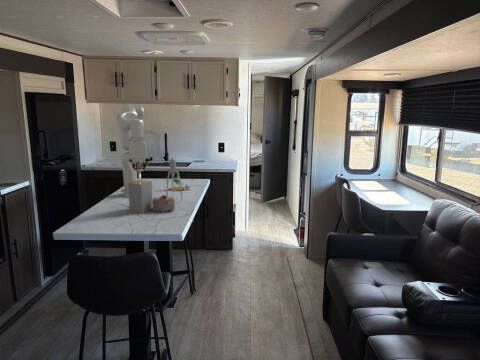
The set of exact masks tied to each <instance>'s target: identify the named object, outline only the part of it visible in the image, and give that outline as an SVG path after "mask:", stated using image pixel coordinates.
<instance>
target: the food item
mask: <svg viewBox="0 0 480 360" xmlns="http://www.w3.org/2000/svg"><path fill="white" fill-rule="evenodd" d="M152 200H153V210H152V211H153V212H154V213H155V212H161V213H165V212H172V211H174V210H175V208H176V205H175V204H176V200H175V197H174V196H168V197H167V195H165V194H163V195H161V196H160V197H157V196H156V197H152Z"/></svg>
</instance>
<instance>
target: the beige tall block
mask: <svg viewBox="0 0 480 360" xmlns="http://www.w3.org/2000/svg"><path fill="white" fill-rule="evenodd" d="M128 190H129V197H128V201H129V202H128V203H129V209H126V210H127V212H128V213H135V214H142V215H143V214H146V213H149V212H151V211H153V184H152V181H151V180H144V179H143V180H142V179H141V183H139V179H137V181H133V182H130V183H128Z"/></svg>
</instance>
